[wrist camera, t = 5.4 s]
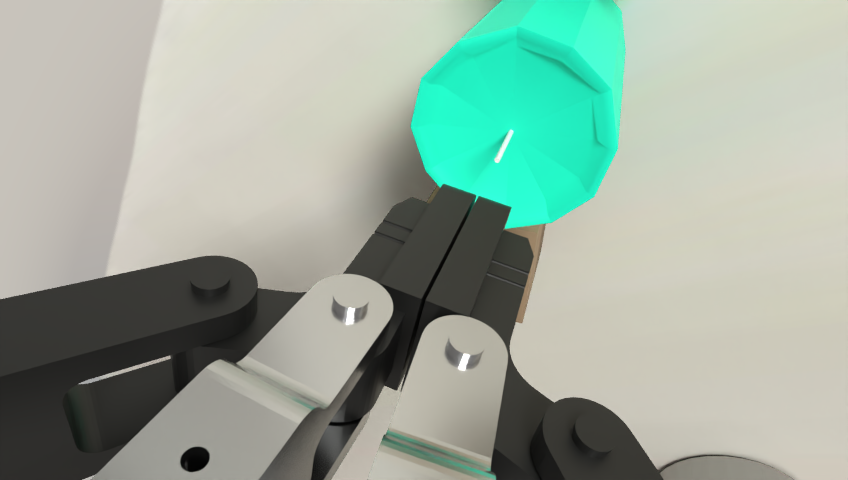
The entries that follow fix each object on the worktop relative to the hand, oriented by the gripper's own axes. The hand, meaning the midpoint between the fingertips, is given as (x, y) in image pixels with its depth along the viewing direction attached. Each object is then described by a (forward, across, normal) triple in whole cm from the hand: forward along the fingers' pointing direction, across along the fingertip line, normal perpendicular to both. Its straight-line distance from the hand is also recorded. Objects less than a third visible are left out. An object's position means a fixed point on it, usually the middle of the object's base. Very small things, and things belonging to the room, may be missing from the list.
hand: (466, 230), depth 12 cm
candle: (+16, 0, 0) cm, 16 cm away
